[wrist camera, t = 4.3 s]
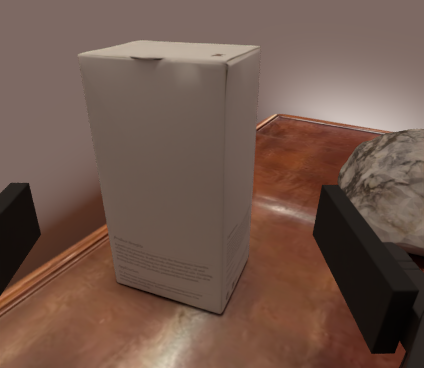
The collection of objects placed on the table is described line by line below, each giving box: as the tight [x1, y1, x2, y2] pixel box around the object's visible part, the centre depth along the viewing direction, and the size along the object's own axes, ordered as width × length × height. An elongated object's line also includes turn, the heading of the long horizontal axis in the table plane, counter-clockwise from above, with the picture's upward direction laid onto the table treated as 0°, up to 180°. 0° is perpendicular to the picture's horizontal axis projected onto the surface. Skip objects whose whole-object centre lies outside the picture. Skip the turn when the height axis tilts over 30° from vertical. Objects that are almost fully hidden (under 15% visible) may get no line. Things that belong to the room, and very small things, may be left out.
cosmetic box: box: [78, 40, 261, 314], centre depth 22 cm, size 8×7×16 cm
